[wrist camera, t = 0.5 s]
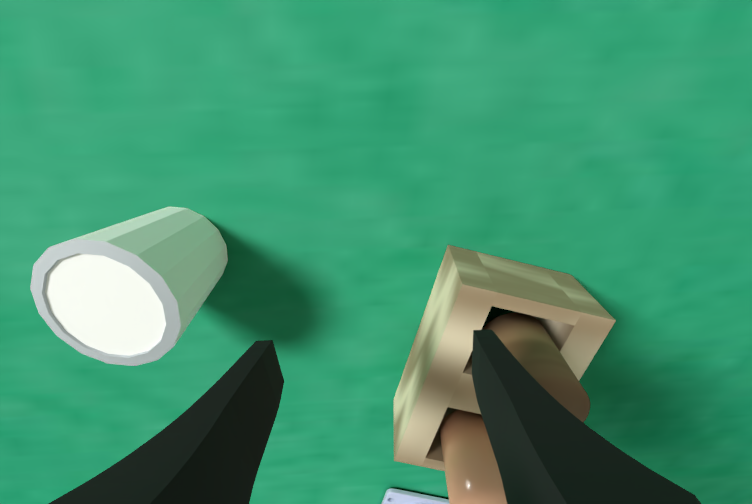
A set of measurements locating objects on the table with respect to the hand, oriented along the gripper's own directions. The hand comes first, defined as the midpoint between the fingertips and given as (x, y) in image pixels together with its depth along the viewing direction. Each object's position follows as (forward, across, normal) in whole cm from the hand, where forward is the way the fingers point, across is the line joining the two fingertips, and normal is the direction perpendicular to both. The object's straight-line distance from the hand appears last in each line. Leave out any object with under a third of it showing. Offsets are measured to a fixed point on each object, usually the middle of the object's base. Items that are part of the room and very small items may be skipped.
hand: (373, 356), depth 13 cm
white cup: (+11, +12, 0) cm, 16 cm away
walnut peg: (+6, -7, +5) cm, 10 cm away
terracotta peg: (+5, -5, +11) cm, 13 cm away
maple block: (+10, -6, +8) cm, 14 cm away
